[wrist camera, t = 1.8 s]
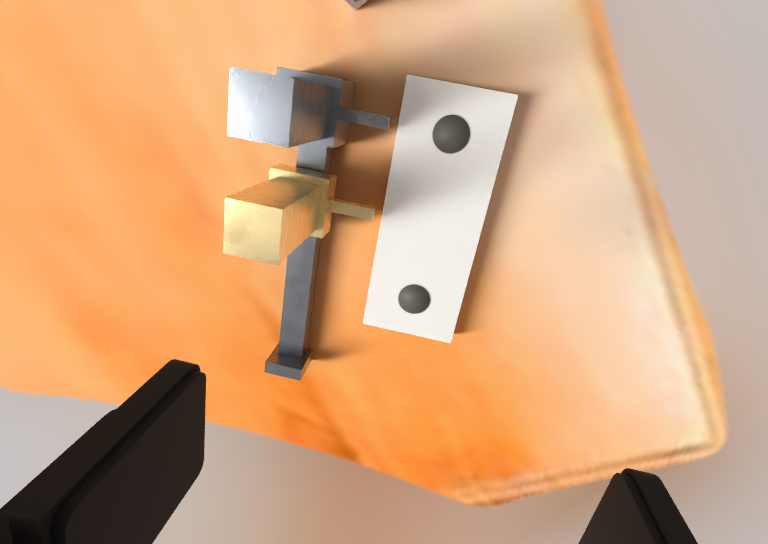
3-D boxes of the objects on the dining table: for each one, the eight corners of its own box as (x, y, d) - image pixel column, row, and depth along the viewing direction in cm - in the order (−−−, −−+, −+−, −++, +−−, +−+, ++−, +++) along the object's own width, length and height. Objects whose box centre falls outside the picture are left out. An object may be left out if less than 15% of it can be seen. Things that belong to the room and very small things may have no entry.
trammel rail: (297, 71, 29) (219, 52, 19) (398, 90, 29) (372, 81, 19) (272, 351, 37) (209, 439, 27) (350, 369, 37) (314, 465, 27)
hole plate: (409, 76, 28) (407, 74, 27) (514, 95, 28) (518, 94, 26) (366, 314, 35) (362, 323, 33) (450, 333, 34) (450, 343, 33)
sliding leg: (280, 163, 30) (215, 185, 21) (379, 183, 29) (352, 214, 21) (276, 219, 31) (213, 259, 23) (370, 239, 31) (341, 288, 22)
